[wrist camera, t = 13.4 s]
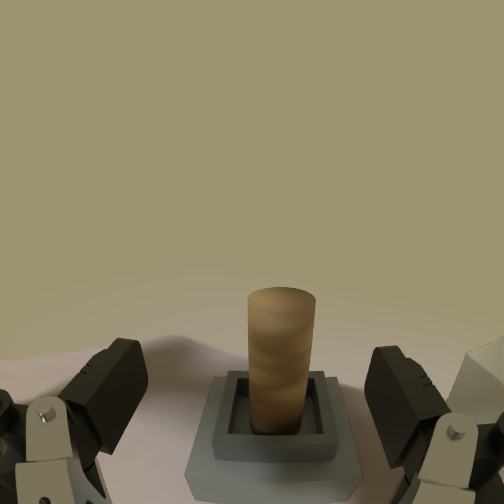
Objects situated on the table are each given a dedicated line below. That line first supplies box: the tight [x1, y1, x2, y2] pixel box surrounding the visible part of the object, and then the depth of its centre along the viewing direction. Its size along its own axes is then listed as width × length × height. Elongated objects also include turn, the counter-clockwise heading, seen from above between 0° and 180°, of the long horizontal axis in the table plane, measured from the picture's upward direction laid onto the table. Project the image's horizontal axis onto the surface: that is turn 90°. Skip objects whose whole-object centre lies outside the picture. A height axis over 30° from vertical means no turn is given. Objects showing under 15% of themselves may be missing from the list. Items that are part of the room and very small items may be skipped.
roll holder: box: [184, 371, 362, 504], centre depth 21 cm, size 13×13×8 cm
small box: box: [446, 337, 504, 425], centre depth 14 cm, size 8×6×13 cm
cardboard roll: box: [248, 287, 316, 435], centre depth 19 cm, size 4×4×12 cm
